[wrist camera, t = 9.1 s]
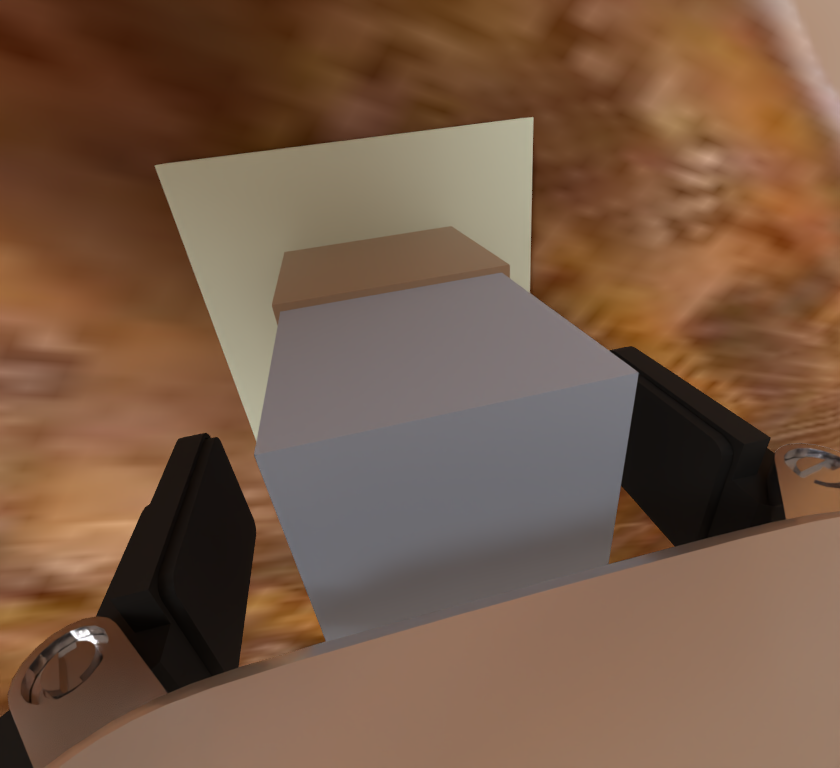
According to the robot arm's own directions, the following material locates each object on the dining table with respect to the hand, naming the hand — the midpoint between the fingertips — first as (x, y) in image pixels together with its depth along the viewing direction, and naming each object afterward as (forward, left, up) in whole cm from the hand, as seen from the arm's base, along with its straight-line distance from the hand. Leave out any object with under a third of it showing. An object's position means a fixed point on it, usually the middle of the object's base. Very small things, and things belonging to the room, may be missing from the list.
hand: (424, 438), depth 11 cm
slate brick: (0, 0, -3) cm, 3 cm away
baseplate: (0, 0, -10) cm, 10 cm away
